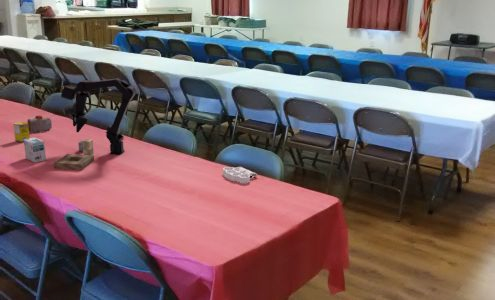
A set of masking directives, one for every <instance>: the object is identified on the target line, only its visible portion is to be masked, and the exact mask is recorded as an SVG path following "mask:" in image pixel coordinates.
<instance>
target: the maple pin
mask: <svg viewBox="0 0 495 300" xmlns="http://www.w3.org/2000/svg"><path fill="white" fill-rule="evenodd" d="M82 141H83V154H82V155H92V156H95V154H94V140H93V139H89V138H86V139H84V140H82Z"/></svg>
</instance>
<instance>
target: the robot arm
mask: <svg viewBox="0 0 495 300" xmlns="http://www.w3.org/2000/svg"><path fill="white" fill-rule="evenodd" d="M113 87H114V88H116V89H117V91H118V92H120V93H121V102H120V104H119V107H118V111H117V112H116V115H115V118H114V121H113V123H110V125H108V127H107V130H106V131H105V136H106V139H107V140H108V141H109V151H110V152H109V154H110V155H122V154H123V153H125V151H126V150H125V148H124V141H123V140H125V139H124V138H125V137H124V135H123V134H121V126H122V122H123V121H124V118H125V116H126V115H125V114H126V112H127V111H128V107H129V104H130V102H131V101H132V100H133V99H134V97H135V96H136V94H137V89H136V88H135V86H133V85H129V83H127V82H125V81H123V80H121V79H120V78H118V77H116V78H111V79H103V80H90V79H84V80H81V81H79V82H77V84H76V87H74V88H73V87H69V86H68V85H65V86H64V87H63V90H62V92H61V95H60V96H61V98H62V99H65V100H69V101H73V100H75V101H74V102H73V103H72V105H67V106H63V107H62V110H63V113H64V115H65V116H68V115H71V117H72V127H75V128H76V129H75V131H76V133H79V132H80V131H81V130H82V128H83V127H84V126H85V125H87V123H88V118H87V117H86V111H85V109H87V102H88V101H87V100H88V99H90V98H91V97H92V94H90V92H89V91H91V90H95V89H102V88H103V89H104V88H113Z"/></svg>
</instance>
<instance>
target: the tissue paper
mask: <svg viewBox="0 0 495 300" xmlns="http://www.w3.org/2000/svg"><path fill="white" fill-rule="evenodd" d="M251 175H252V176H254V177H256V178H257V177H258V173H256V172H253V171H251V170H249V169H246V168H244V167H243V166H238V167H233V166H227V167H226V166H225V167H223V168H222V176H223V177H225V178H226V179H227V180H230V181H232V182H234V181H237V182H236V183H239V182H240V183H239V184H248V182H249V183H250V182H251V180H252V177H251V178H250V176H251Z"/></svg>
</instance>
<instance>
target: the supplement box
mask: <svg viewBox="0 0 495 300" xmlns="http://www.w3.org/2000/svg"><path fill="white" fill-rule="evenodd" d="M13 130H14V140H15V142H18V143H21V144H24V139H29V138H31V136H30V132H29V127H28V123H27V122H24V121H19V122H15V123H13Z"/></svg>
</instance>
